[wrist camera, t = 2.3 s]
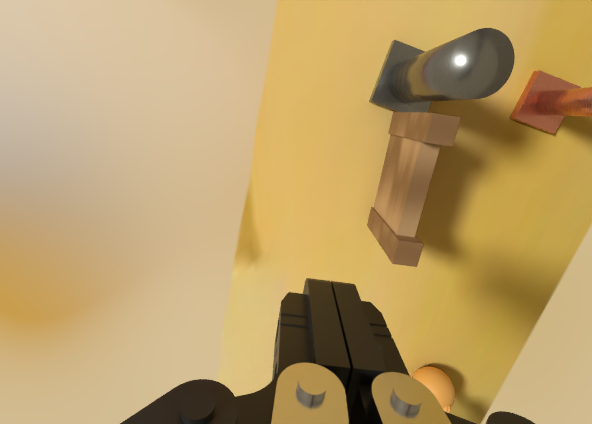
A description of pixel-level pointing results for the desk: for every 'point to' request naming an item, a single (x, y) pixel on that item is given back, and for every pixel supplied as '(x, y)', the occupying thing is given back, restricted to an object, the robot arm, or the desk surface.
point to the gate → (408, 181)
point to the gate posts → (474, 80)
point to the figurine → (437, 385)
